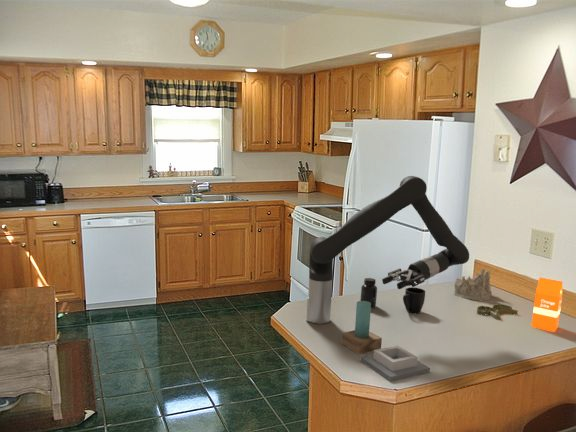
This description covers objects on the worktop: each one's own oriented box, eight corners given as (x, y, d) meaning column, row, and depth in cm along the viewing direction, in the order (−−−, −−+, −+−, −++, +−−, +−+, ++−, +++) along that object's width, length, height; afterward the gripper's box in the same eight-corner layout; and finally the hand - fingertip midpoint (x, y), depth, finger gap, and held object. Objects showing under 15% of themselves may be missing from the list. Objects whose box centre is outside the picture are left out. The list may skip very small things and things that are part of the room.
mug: (394, 312, 233) (396, 291, 232) (411, 307, 241) (413, 286, 239) (410, 318, 227) (412, 296, 226) (427, 312, 235) (429, 291, 233)
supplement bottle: (375, 309, 236) (377, 282, 234) (359, 307, 237) (361, 280, 235) (376, 304, 243) (378, 278, 241) (360, 302, 244) (362, 276, 242)
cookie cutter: (494, 321, 229) (495, 316, 229) (470, 312, 239) (471, 308, 238) (521, 314, 239) (521, 310, 238) (497, 306, 249) (497, 302, 248)
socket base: (390, 381, 171) (391, 367, 170) (360, 360, 185) (361, 348, 184) (429, 372, 179) (431, 359, 178) (398, 353, 193) (399, 340, 192)
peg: (354, 337, 194) (356, 304, 192) (354, 332, 199) (356, 300, 197) (368, 338, 194) (371, 306, 192) (368, 333, 199) (370, 301, 196)
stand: (359, 354, 190) (360, 343, 190) (341, 343, 199) (341, 333, 198) (381, 348, 196) (381, 337, 195) (362, 338, 204) (363, 328, 203)
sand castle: (496, 295, 263) (497, 264, 260) (481, 304, 251) (482, 272, 249) (465, 289, 273) (466, 259, 271) (449, 297, 262) (450, 266, 259)
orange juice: (535, 321, 230) (541, 275, 226) (558, 326, 225) (564, 279, 221) (531, 326, 223) (537, 279, 220) (554, 332, 218) (561, 283, 215)
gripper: (409, 257, 213) (376, 270, 206) (435, 263, 200) (401, 278, 193) (412, 275, 215) (380, 289, 208) (438, 282, 202) (404, 298, 195)
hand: (390, 284), depth 201 cm, fingers open, 8 cm apart
